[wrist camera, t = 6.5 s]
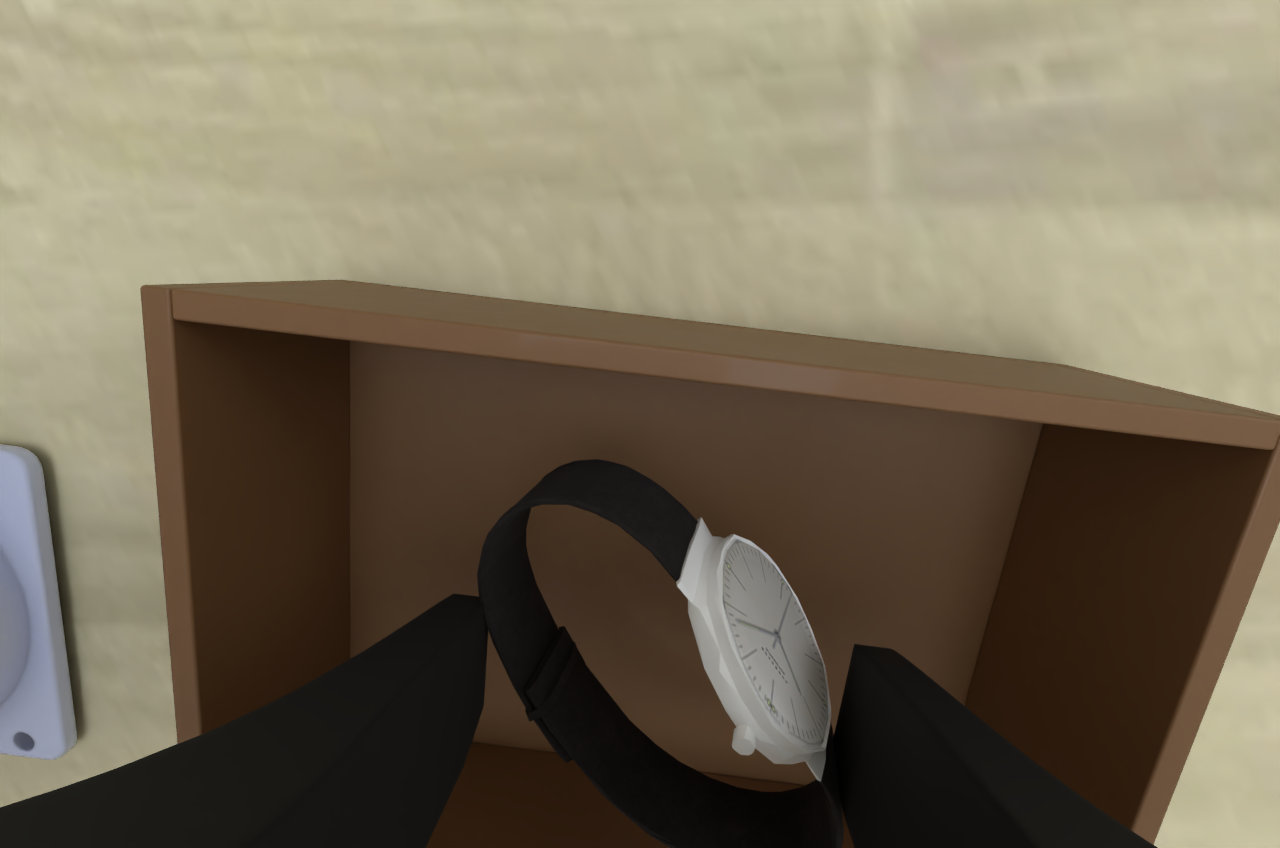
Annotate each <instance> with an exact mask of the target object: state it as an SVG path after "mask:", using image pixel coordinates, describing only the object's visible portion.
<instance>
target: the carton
mask: <svg viewBox="0 0 1280 848" xmlns="http://www.w3.org/2000/svg"><path fill="white" fill-rule="evenodd" d="M140 290H141V302H142V314H143V326H144V338H145V351H146V363H147V375H148V387H149V399H150V412H151V424H152V436H153V448H154V461H155V473H156V485H157V497H158V509H159V522H160V534H161V546H162V558H163V571H164V583H165V595H166V607H167V619H168V632H169V644H170V656H171V668H172V680H173V693H174V705H175V717H176V729H177V742H178V744H179V743H182V742H184V741H187V740H189V739H192V738H194V737H197V736H199V735H202V734H204V733H206V732H209V731H211V730H213V729H215V728H218V727H220V726H222V725H224V724H227V723H229V722H231V721H233V720H235V719H237V718H239V717H242V716H244V715H246V714H248V713H250V712H252V711H254V710H256V709H259V708H261V707H263V706H265V705H267V704H269V703H271V702H273V701H275V700H277V699H279V698H281V697H283V696H285V695H287V694H289V693H290V692H292V691H294V690H296V689H298V688H300V687H302V686H304V685H305V684H307V683H309V682H311V681H312V680H314V679H316V678H318V677H319V676H321V675H323V674H325V673H326V672H328V671H330V670H332V669H333V668H335V667H337V666H338V665H340V664H342V663H344V662H345V661H347V660H349V659H351V658H352V657H354V656H356V655H358V654H359V653H361V652H363V651H364V650H366V649H368V648H369V647H371V646H372V645H374V644H375V643H377V642H379V641H380V640H382V639H383V638H385V637H386V636H388V635H390V634H391V633H393V632H394V631H396V630H397V629H399V628H401V627H402V626H404V625H405V624H407V623H408V622H410V621H411V620H413V619H414V618H416V617H417V616H419V615H420V614H422V613H423V612H425V611H426V610H428V609H430V608H431V607H433V606H434V605H436V604H437V603H439V602H440V601H442V600H443V599H445V598H447V597H448V596H450V595H452V594H462V595H470V596H478V597H479V592H478V581H477V571H478V566H479V562H480V557H481V552H482V547H483V544H484V542H485V539H486V537H487V534H488V533H489V532H490V530H491V529H492V528H493V526H494V525H495V524H496V522H497V521H498V520H499V518H500V517H501V516H502V515H503V514H504V513H506V512H507V511H508V510H509V509H510V508H511V507H513V506H514V505H515V504H516V503H517V502H518V501H519V500H521V499H522V498H523V497H524V496H525V495H526V494H527V493H528V492H529V491H530V490H531V489H532V488H533V487H534V486H536V485H537V484H538V483H539V482H540V481H541V480H542V478H543V477H544V476H545V475H547V474H548V473H550V472H551V471H553V470H554V469H556V468H558V467H559V466H561V465H564V464H567V463H570V462H573V461H578V460H592V459H600V460H605V461H611V462H614V463H618V464H622V465H625V466H628V467H630V468H632V469H634V470H636V471H637V472H639V473H641V474H643V475H645V476H646V477H648V478H650V479H651V480H653V481H654V482H656V483H657V484H659V485H660V486H661V487H663V488H664V489H665V490H667V491H668V492H669V493H670V494H671V495H672V496H673V497H674V498H675V499H677V500H678V501H679V502H680V503H681V504H682V505H683V506H684V507H685V508H686V509H687V510H688V511H689V512H690V513H691V514H692V516H693V517H694V518H695V519H696V520H698V519H699V518H700V517H702V519H703V521H704V522H705V524H706V526H707V528H708V530H709V531H710V533H711V535H712V536H717V537H722V538H726V537H727V536H729V535H731V534H735V535H737V536H740V537H742V538H745V539H747V540H750V541H751V542H753V543H754V544H755V545H757V546H758V547H759V548H760V549H762V550H763V551H764V552H766V553H767V554H768V555H769V556H770V558H771V559H772V560H773V561H774V562H775V564H776V565H777V566H778V568H779V569H780V571H781V572H782V574H783V576H784V577H785V579H786V580H787V582H788V583H789V585H790V587H791V588H792V590H793V591H794V593H795V595H796V596H797V598H798V600H799V602H800V604H801V606H802V609H803V611H804V613H805V615H806V618H807V620H808V622H809V624H810V626H811V629H812V631H813V634H814V637H815V640H816V642H817V645H818V648H819V651H820V653H821V656H822V659H823V662H824V664H825V668H826V675H827V682H828V689H829V696H830V704H831V725H832V728H833V735H834V733H835V728H836V724H837V719H838V715H839V710H840V706H841V701H842V697H843V692H844V688H845V683H846V679H847V674H848V670H849V665H850V661H851V656H852V652H853V647H854V644H859V645H867V646H875V647H883V648H891V649H893V650H895V651H896V652H898V653H899V654H901V655H902V656H903V657H905V658H906V659H907V660H909V661H910V662H911V663H913V664H914V665H915V666H916V667H918V668H919V669H920V670H921V671H923V672H924V673H925V674H926V675H928V676H929V677H930V678H931V679H932V680H934V681H935V682H936V683H937V684H939V685H940V686H941V687H942V688H943V689H945V690H946V691H947V692H948V693H949V694H951V695H952V696H953V697H954V698H955V699H957V700H958V701H959V702H960V703H962V704H963V705H964V706H965V707H966V708H968V709H969V710H970V711H971V712H972V713H974V714H975V715H976V716H977V717H979V718H980V719H981V720H982V721H984V722H985V723H986V724H987V725H989V726H990V727H991V728H992V729H993V730H995V731H996V732H997V733H998V734H1000V735H1001V736H1002V737H1003V738H1005V739H1006V740H1007V741H1009V742H1010V743H1011V744H1012V745H1014V746H1015V747H1016V748H1017V749H1019V750H1020V751H1021V752H1023V753H1024V754H1025V755H1027V756H1028V757H1029V758H1030V759H1032V760H1033V761H1034V762H1036V763H1037V764H1038V765H1040V766H1041V767H1042V768H1044V769H1045V770H1046V771H1048V772H1049V773H1050V774H1052V775H1053V776H1054V777H1056V778H1057V779H1059V780H1060V781H1061V782H1063V783H1064V784H1065V785H1067V786H1068V787H1069V788H1071V789H1072V790H1073V791H1075V792H1076V793H1077V794H1079V795H1080V796H1082V797H1083V798H1084V799H1086V800H1087V801H1089V802H1090V803H1092V804H1093V805H1094V806H1096V807H1097V808H1099V809H1100V810H1102V811H1103V812H1104V813H1106V814H1107V815H1109V816H1110V817H1112V818H1113V819H1115V820H1116V821H1118V822H1119V823H1121V824H1122V825H1124V826H1125V827H1127V828H1128V829H1130V830H1131V831H1133V832H1134V833H1136V834H1138V835H1139V836H1141V837H1142V838H1144V839H1145V840H1147V841H1148V842H1150V843H1151V844H1154V842H1155V839H1156V836H1157V834H1158V831H1159V829H1160V826H1161V824H1162V821H1163V819H1164V816H1165V813H1166V811H1167V808H1168V806H1169V803H1170V801H1171V798H1172V795H1173V793H1174V790H1175V788H1176V785H1177V783H1178V780H1179V778H1180V775H1181V772H1182V770H1183V767H1184V765H1185V762H1186V760H1187V757H1188V755H1189V752H1190V749H1191V747H1192V744H1193V742H1194V739H1195V737H1196V734H1197V732H1198V729H1199V726H1200V724H1201V721H1202V719H1203V716H1204V714H1205V711H1206V709H1207V706H1208V703H1209V701H1210V698H1211V696H1212V693H1213V691H1214V688H1215V686H1216V683H1217V680H1218V678H1219V675H1220V673H1221V670H1222V668H1223V665H1224V663H1225V660H1226V657H1227V655H1228V652H1229V650H1230V647H1231V645H1232V642H1233V640H1234V637H1235V634H1236V632H1237V629H1238V627H1239V624H1240V622H1241V619H1242V617H1243V614H1244V611H1245V609H1246V606H1247V604H1248V601H1249V599H1250V596H1251V593H1252V591H1253V588H1254V586H1255V583H1256V581H1257V578H1258V576H1259V573H1260V570H1261V568H1262V565H1263V563H1264V560H1265V558H1266V555H1267V553H1268V550H1269V547H1270V545H1271V542H1272V540H1273V537H1274V535H1275V532H1276V530H1277V527H1278V524H1279V522H1280V416H1279V415H1275V414H1271V413H1267V412H1263V411H1258V410H1254V409H1250V408H1246V407H1241V406H1237V405H1233V404H1229V403H1224V402H1220V401H1216V400H1212V399H1208V398H1203V397H1199V396H1195V395H1191V394H1186V393H1182V392H1178V391H1174V390H1169V389H1165V388H1161V387H1157V386H1153V385H1148V384H1144V383H1140V382H1136V381H1131V380H1127V379H1123V378H1119V377H1114V376H1110V375H1106V374H1102V373H1098V372H1093V371H1089V370H1085V369H1081V368H1076V367H1072V366H1068V365H1062V364H1053V363H1045V362H1036V361H1028V360H1019V359H1011V358H1002V357H994V356H985V355H977V354H968V353H960V352H951V351H943V350H934V349H926V348H917V347H909V346H900V345H892V344H883V343H875V342H866V341H858V340H849V339H841V338H832V337H824V336H815V335H807V334H798V333H790V332H781V331H772V330H764V329H755V328H747V327H738V326H730V325H721V324H713V323H704V322H696V321H687V320H679V319H670V318H662V317H653V316H645V315H636V314H628V313H619V312H611V311H602V310H594V309H585V308H577V307H568V306H560V305H551V304H543V303H534V302H526V301H517V300H509V299H500V298H492V297H483V296H475V295H466V294H458V293H449V292H441V291H432V290H424V289H415V288H407V287H398V286H390V285H381V284H373V283H364V282H356V281H347V280H319V281H281V282H244V283H206V284H169V285H144V286H141V289H140ZM526 546H527V552H528V557H529V561H530V564H531V567H532V571H533V574H534V577H535V580H536V584H537V586H538V588H539V590H540V592H541V594H542V596H543V598H544V600H545V602H546V604H547V606H548V608H549V611H550V613H551V615H552V617H553V619H554V621H555V623H556V625H557V627H558V629H559V627H562V626H565V628H566V629H567V631H568V633H569V635H570V636H571V638H572V640H573V642H575V643H576V646H577V648H578V650H579V652H580V654H581V656H582V657H583V659H584V661H585V664H586V666H587V667H588V668H589V669H590V671H591V672H592V673H593V674H594V676H595V677H596V678H597V679H598V681H599V682H600V683H601V684H602V686H603V687H604V688H605V690H606V691H607V692H608V693H609V695H610V696H611V697H612V698H613V700H614V701H615V702H616V703H617V705H618V706H619V707H620V708H621V710H622V711H623V712H624V713H625V715H626V716H627V717H628V719H629V720H630V721H631V722H632V723H633V724H634V725H636V726H637V727H638V728H639V729H640V730H641V731H642V732H643V733H644V734H645V735H646V736H648V737H649V738H650V739H651V740H652V741H653V742H654V743H655V744H656V745H658V746H659V747H660V748H662V749H663V750H665V751H666V752H667V753H669V754H670V755H671V756H673V757H674V758H676V759H677V760H678V761H680V762H681V763H683V764H685V765H687V766H689V767H691V768H693V769H695V770H697V771H699V772H701V773H702V774H704V775H706V776H708V777H710V778H713V779H716V780H719V781H722V782H724V783H727V784H730V785H733V786H736V787H739V788H745V789H750V790H756V791H761V792H782V791H787V790H791V789H795V788H800V787H804V786H806V785H807V784H809V783H811V782H813V781H814V780H816V778H815V776H814V775H813V773H812V771H811V770H810V768H809V767H808V765H807V764H806V762H805V761H804V762H800V763H796V764H774V763H773V762H772V761H770V760H769V759H768V758H767V757H766V756H764V755H763V754H762V753H761V752H759V751H758V750H757V749H756V748H755V750H754V752H753V753H752V754H751V755H740V754H739V753H738V752H736V751H735V750H734V749H733V748H732V741H733V733H734V729H735V728H736V726H735V724H734V723H733V721H732V720H731V718H730V717H729V715H728V714H727V712H726V711H725V709H724V707H723V705H722V703H721V701H720V699H719V697H718V695H717V693H716V691H715V689H714V687H713V685H712V683H711V681H710V679H709V677H708V675H707V673H706V671H705V669H704V666H703V662H702V659H701V655H700V652H699V648H698V645H697V642H696V638H695V635H694V631H693V628H692V624H691V621H690V617H689V614H688V598H687V597H686V596H685V595H684V594H683V593H682V591H681V590H680V589H679V588H678V587H677V584H676V582H675V581H674V579H673V578H672V577H671V576H670V575H669V573H668V572H667V571H666V570H665V569H664V567H663V566H662V565H661V564H660V563H659V561H658V560H657V559H656V558H655V557H654V555H653V554H652V553H651V552H650V551H649V550H648V549H647V548H645V547H644V546H643V545H642V544H640V543H639V542H638V541H637V540H635V539H634V538H633V537H632V536H630V535H629V534H628V533H627V532H625V531H624V530H623V529H622V528H621V527H619V526H618V525H616V524H614V523H612V522H610V521H608V520H606V519H604V518H602V517H600V516H598V515H596V514H595V513H592V512H589V511H586V510H583V509H580V508H577V507H574V506H571V505H539V506H535V507H532V508H531V511H530V515H529V519H528V523H527V527H526ZM525 709H526V708H525V706H524V704H523V703H522V701H521V699H520V697H519V696H518V694H517V692H516V691H515V689H514V687H513V685H512V683H511V681H510V679H509V677H508V674H507V672H506V670H505V668H504V666H503V664H502V662H501V660H500V657H499V655H498V653H497V651H496V649H495V647H494V645H493V642H492V639H491V636H490V633H489V630H488V645H487V662H486V679H485V696H484V707H483V710H482V713H481V716H480V719H479V722H478V725H477V728H476V731H475V735H474V738H473V741H472V743H471V746H470V749H469V752H468V755H467V758H466V761H465V764H464V766H463V769H462V771H461V773H460V775H459V777H458V780H457V782H456V784H455V786H454V788H453V790H452V793H451V795H450V797H449V799H448V801H447V803H446V806H445V808H444V810H443V812H442V814H441V816H440V818H439V821H438V823H437V825H436V827H435V829H434V831H433V833H432V835H431V838H430V840H429V842H428V844H427V846H426V848H670V847H668V846H666V845H665V844H663V843H661V842H660V841H658V840H656V839H655V838H653V837H651V836H650V835H649V834H647V833H646V832H645V831H644V830H642V829H641V828H640V827H639V826H638V825H636V824H635V823H634V822H633V821H631V820H630V819H629V818H628V817H627V816H625V815H624V814H623V813H622V812H621V811H619V810H618V809H617V808H616V807H615V806H614V805H613V804H612V803H611V802H610V801H608V800H607V799H606V798H605V797H604V796H603V795H602V794H601V793H600V792H599V791H598V789H597V788H596V787H595V786H594V785H593V783H592V782H591V781H590V780H589V778H588V777H587V776H586V775H585V773H584V772H583V771H582V770H581V769H580V767H579V766H578V765H577V764H576V762H575V761H574V760H572V761H570V762H568V763H566V762H565V761H564V760H563V759H562V758H561V757H560V756H559V755H558V754H557V753H556V752H555V750H554V749H553V748H552V746H551V745H550V744H549V742H548V741H547V739H546V738H545V736H544V735H543V733H542V732H541V730H540V729H539V728H538V726H537V725H536V723H535V722H534V720H533V721H530V722H529V720H528V717H527V715H526V712H525ZM842 815H843V828H844V838H843V844H842V848H854V845H853V842H852V839H851V836H850V833H849V829H848V826H847V823H846V820H845V817H844V813H843V809H842Z"/></svg>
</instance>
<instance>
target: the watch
mask: <svg viewBox="0 0 1280 848" xmlns="http://www.w3.org/2000/svg"><path fill="white" fill-rule="evenodd" d="M539 505H571V506H574V507H577V508H580V509H583V510H586V511H589V512H592V513H595V514H596V515H598V516H600V517H602V518H604V519H606V520H608V521H610V522H612V523H614V524H616V525H618V526H619V527H621V528H622V529H623V530H624V531H625V532H627V533H628V534H629V535H630V536H632V537H633V538H634V539H635V540H637V541H638V542H639V543H640V544H642V545H643V546H644V547H645V548H647V549H648V550H649V551H650V552H651V553H652V554H653V555H654V557H655V558H656V559H657V560H658V561H659V563H660V564H661V565H662V566H663V567H664V569H665V570H666V571H667V572H668V573H669V575H670V576H671V577H672V578H673V579H674V581H675V582H676V584H677V587H678V588H679V589H680V590H681V591H682V593H683V594H684V595H685V596H686V597H687V598H688V614H689V617H690V621H691V624H692V628H693V631H694V635H695V638H696V642H697V645H698V648H699V652H700V655H701V659H702V662H703V666H704V669H705V671H706V673H707V675H708V677H709V679H710V681H711V683H712V685H713V687H714V689H715V691H716V693H717V695H718V697H719V699H720V701H721V703H722V705H723V707H724V709H725V711H726V712H727V714H728V715H729V717H730V718H731V720H732V721H733V723H734V724H735V726H736V728H735V729H734V733H733V741H732V748H733V749H734V750H735V751H736V752H738V753H739V754H740V755H751V754H752V753H753V752H754V750H755V748H756V749H757V750H758V751H759V752H761V753H762V754H763V755H764V756H766V757H767V758H768V759H769V760H770V761H772V762H773V763H774V764H796V763H800V762H804V761H805V762H806V764H807V765H808V767H809V768H810V770H811V771H812V773H813V775H814V776H815V778H816V780H814V781H813V782H811V783H809V784H807V785H806V786H804V787H800V788H795V789H791V790H787V791H782V792H761V791H756V790H750V789H745V788H739V787H736V786H733V785H730V784H727V783H724V782H722V781H719V780H716V779H713V778H710V777H708V776H706V775H704V774H702V773H701V772H699V771H697V770H695V769H693V768H691V767H689V766H687V765H685V764H683V763H681V762H680V761H678V760H677V759H676V758H674V757H673V756H671V755H670V754H669V753H667V752H666V751H665V750H663V749H662V748H660V747H659V746H658V745H656V744H655V743H654V742H653V741H652V740H651V739H650V738H649V737H648V736H646V735H645V734H644V733H643V732H642V731H641V730H640V729H639V728H638V727H637V726H636V725H634V724H633V723H632V722H631V721H630V720H629V719H628V717H627V716H626V715H625V713H624V712H623V711H622V710H621V708H620V707H619V706H618V705H617V703H616V702H615V701H614V700H613V698H612V697H611V696H610V695H609V693H608V692H607V691H606V690H605V688H604V687H603V686H602V684H601V683H600V682H599V681H598V679H597V678H596V677H595V676H594V674H593V673H592V672H591V671H590V669H589V668H588V667H587V666H586V664H585V661H584V659H583V657H582V656H581V654H580V652H579V650H578V648H577V646H576V643H575V642H573V640H572V638H571V636H570V635H569V633H568V631H567V629H566V628H565V626H562V627H559V629H558V627H557V625H556V623H555V621H554V619H553V617H552V615H551V613H550V611H549V608H548V606H547V604H546V602H545V600H544V598H543V596H542V594H541V592H540V590H539V588H538V586H537V584H536V580H535V577H534V574H533V571H532V567H531V564H530V561H529V557H528V552H527V546H526V527H527V523H528V519H529V515H530V511H531V508H532V507H535V506H539ZM477 581H478V592H479V601H480V603H485V606H484V618H485V621H486V624H487V627H488V630H489V633H490V636H491V639H492V642H493V645H494V647H495V649H496V651H497V653H498V655H499V657H500V660H501V662H502V664H503V666H504V668H505V670H506V672H507V674H508V677H509V679H510V681H511V683H512V685H513V687H514V689H515V691H516V692H517V694H518V696H519V697H520V699H521V701H522V703H523V704H524V706H525V708H526V709H525V712H526V715H527V717H528V720H529V722H530V721H533V720H534V722H535V723H536V725H537V726H538V728H539V729H540V730H541V732H542V733H543V735H544V736H545V738H546V739H547V741H548V742H549V744H550V745H551V746H552V748H553V749H554V750H555V752H556V753H557V754H558V755H559V756H560V757H561V758H562V759H563V760H564V761H565V762H566V763H568V762H570V761H572V760H574V761H575V762H576V764H577V765H578V766H579V767H580V769H581V770H582V771H583V772H584V773H585V775H586V776H587V777H588V778H589V780H590V781H591V782H592V783H593V785H594V786H595V787H596V788H597V789H598V791H599V792H600V793H601V794H602V795H603V796H604V797H605V798H606V799H607V800H608V801H610V802H611V803H612V804H613V805H614V806H615V807H616V808H617V809H618V810H619V811H621V812H622V813H623V814H624V815H625V816H627V817H628V818H629V819H630V820H631V821H633V822H634V823H635V824H636V825H638V826H639V827H640V828H641V829H642V830H644V831H645V832H646V833H647V834H649V835H650V836H651V837H653V838H655V839H656V840H658V841H660V842H661V843H663V844H665V845H666V846H668V847H670V848H842V844H843V838H844V828H843V815H842V804H841V798H840V790H839V781H838V773H837V766H836V758H835V752H834V746H833V737H834V735H833V728H832V725H831V704H830V696H829V689H828V682H827V675H826V668H825V664H824V662H823V659H822V656H821V653H820V651H819V648H818V645H817V642H816V640H815V637H814V634H813V631H812V629H811V626H810V624H809V622H808V620H807V618H806V615H805V613H804V611H803V609H802V606H801V604H800V602H799V600H798V598H797V596H796V595H795V593H794V591H793V590H792V588H791V587H790V585H789V583H788V582H787V580H786V579H785V577H784V576H783V574H782V572H781V571H780V569H779V568H778V566H777V565H776V564H775V562H774V561H773V560H772V559H771V558H770V556H769V555H768V554H767V553H766V552H764V551H763V550H762V549H760V548H759V547H758V546H757V545H755V544H754V543H753V542H751V541H750V540H747V539H745V538H742V537H740V536H737V535H735V534H731V535H729V536H727V537H726V538H722V537H717V536H712V535H711V533H710V531H709V530H708V528H707V526H706V524H705V522H704V521H703V519H702V517H700V518H699V519H698V520H696V519H695V518H694V517H693V516H692V514H691V513H690V512H689V511H688V510H687V509H686V508H685V507H684V506H683V505H682V504H681V503H680V502H679V501H678V500H677V499H675V498H674V497H673V496H672V495H671V494H670V493H669V492H668V491H667V490H665V489H664V488H663V487H661V486H660V485H659V484H657V483H656V482H654V481H653V480H651V479H650V478H648V477H646V476H645V475H643V474H641V473H639V472H637V471H636V470H634V469H632V468H630V467H628V466H625V465H622V464H618V463H614V462H611V461H605V460H600V459H592V460H578V461H573V462H570V463H567V464H564V465H561V466H559V467H558V468H556V469H554V470H553V471H551V472H550V473H548V474H547V475H545V476H544V477H543V478H542V480H541V481H540V482H539V483H538V484H537V485H536V486H534V487H533V488H532V489H531V490H530V491H529V492H528V493H527V494H526V495H525V496H524V497H523V498H522V499H521V500H519V501H518V502H517V503H516V504H515V505H514V506H513V507H511V508H510V509H509V510H508V511H507V512H506V513H504V514H503V515H502V516H501V517H500V518H499V520H498V521H497V522H496V524H495V525H494V526H493V528H492V529H491V530H490V532H489V533H488V534H487V537H486V539H485V542H484V544H483V547H482V552H481V557H480V562H479V566H478V571H477Z"/></svg>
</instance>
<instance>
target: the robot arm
mask: <svg viewBox="0 0 1280 848" xmlns="http://www.w3.org/2000/svg"><path fill="white" fill-rule="evenodd" d="M484 606H485V603H480V601H479V597H478V596H470V595H462V594H452V595H450V596H448V597H447V598H445V599H443V600H442V601H440V602H439V603H437V604H436V605H434V606H433V607H431V608H430V609H428V610H426V611H425V612H423V613H422V614H420V615H419V616H417V617H416V618H414V619H413V620H411V621H410V622H408V623H407V624H405V625H404V626H402V627H401V628H399V629H397V630H396V631H394V632H393V633H391V634H390V635H388V636H386V637H385V638H383V639H382V640H380V641H379V642H377V643H375V644H374V645H372V646H371V647H369V648H368V649H366V650H364V651H363V652H361V653H359V654H358V655H356V656H354V657H352V658H351V659H349V660H347V661H345V662H344V663H342V664H340V665H338V666H337V667H335V668H333V669H332V670H330V671H328V672H326V673H325V674H323V675H321V676H319V677H318V678H316V679H314V680H312V681H311V682H309V683H307V684H305V685H304V686H302V687H300V688H298V689H296V690H294V691H292V692H290V693H289V694H287V695H285V696H283V697H281V698H279V699H277V700H275V701H273V702H271V703H269V704H267V705H265V706H263V707H261V708H259V709H256V710H254V711H252V712H250V713H248V714H246V715H244V716H242V717H239V718H237V719H235V720H233V721H231V722H229V723H227V724H224V725H222V726H220V727H218V728H215V729H213V730H211V731H209V732H206V733H204V734H202V735H199V736H197V737H194V738H192V739H189V740H187V741H184V742H182V743H179V744H177V745H174V746H172V747H169V748H167V749H164V750H162V751H159V752H157V753H154V754H152V755H149V756H147V757H144V758H142V759H139V760H137V761H134V762H132V763H129V764H127V765H124V766H122V767H119V768H116V769H114V770H111V771H108V772H105V773H103V774H100V775H97V776H94V777H91V778H88V779H85V780H82V781H80V782H77V783H74V784H71V785H68V786H65V787H62V788H59V789H57V790H54V791H50V792H47V793H44V794H41V795H38V796H35V797H32V798H29V799H26V800H22V801H19V802H16V803H13V804H10V805H7V806H4V807H1V808H0V848H426V846H427V844H428V842H429V840H430V838H431V835H432V833H433V831H434V829H435V827H436V825H437V823H438V821H439V818H440V816H441V814H442V812H443V810H444V808H445V806H446V803H447V801H448V799H449V797H450V795H451V793H452V790H453V788H454V786H455V784H456V782H457V780H458V777H459V775H460V773H461V771H462V769H463V766H464V764H465V761H466V758H467V755H468V752H469V749H470V746H471V743H472V741H473V738H474V735H475V731H476V728H477V725H478V722H479V719H480V716H481V713H482V710H483V707H484V696H485V679H486V662H487V645H488V627H487V624H486V621H485V618H484ZM76 742H77V731H76V723H75V715H74V707H73V700H72V692H71V684H70V676H69V668H68V661H67V653H66V645H65V637H64V629H63V622H62V614H61V606H60V598H59V590H58V583H57V575H56V567H55V559H54V551H53V544H52V536H51V528H50V520H49V512H48V505H47V497H46V489H45V481H44V473H43V468H42V465H41V462H40V461H39V459H38V458H37V457H36V455H34V454H33V453H32V452H30V451H29V450H27V449H25V448H22V447H18V446H11V445H3V444H0V753H1V754H8V755H16V756H24V757H31V758H39V759H47V760H51V759H57V758H59V757H62V756H63V755H64V754H65V753H67V752H68V751H69V750H70V749H72V748H73V747H74V745H75V744H76ZM833 746H834V752H835V758H836V766H837V773H838V781H839V790H840V798H841V804H842V809H843V813H844V817H845V820H846V823H847V826H848V829H849V833H850V836H851V839H852V842H853V845H854V848H1157V847H1156V846H1154V845H1153V844H1151V843H1150V842H1148V841H1147V840H1145V839H1144V838H1142V837H1141V836H1139V835H1138V834H1136V833H1134V832H1133V831H1131V830H1130V829H1128V828H1127V827H1125V826H1124V825H1122V824H1121V823H1119V822H1118V821H1116V820H1115V819H1113V818H1112V817H1110V816H1109V815H1107V814H1106V813H1104V812H1103V811H1102V810H1100V809H1099V808H1097V807H1096V806H1094V805H1093V804H1092V803H1090V802H1089V801H1087V800H1086V799H1084V798H1083V797H1082V796H1080V795H1079V794H1077V793H1076V792H1075V791H1073V790H1072V789H1071V788H1069V787H1068V786H1067V785H1065V784H1064V783H1063V782H1061V781H1060V780H1059V779H1057V778H1056V777H1054V776H1053V775H1052V774H1050V773H1049V772H1048V771H1046V770H1045V769H1044V768H1042V767H1041V766H1040V765H1038V764H1037V763H1036V762H1034V761H1033V760H1032V759H1030V758H1029V757H1028V756H1027V755H1025V754H1024V753H1023V752H1021V751H1020V750H1019V749H1017V748H1016V747H1015V746H1014V745H1012V744H1011V743H1010V742H1009V741H1007V740H1006V739H1005V738H1003V737H1002V736H1001V735H1000V734H998V733H997V732H996V731H995V730H993V729H992V728H991V727H990V726H989V725H987V724H986V723H985V722H984V721H982V720H981V719H980V718H979V717H977V716H976V715H975V714H974V713H972V712H971V711H970V710H969V709H968V708H966V707H965V706H964V705H963V704H962V703H960V702H959V701H958V700H957V699H955V698H954V697H953V696H952V695H951V694H949V693H948V692H947V691H946V690H945V689H943V688H942V687H941V686H940V685H939V684H937V683H936V682H935V681H934V680H932V679H931V678H930V677H929V676H928V675H926V674H925V673H924V672H923V671H921V670H920V669H919V668H918V667H916V666H915V665H914V664H913V663H911V662H910V661H909V660H907V659H906V658H905V657H903V656H902V655H901V654H899V653H898V652H896V651H895V650H893V649H891V648H883V647H875V646H867V645H859V644H854V647H853V652H852V656H851V661H850V665H849V670H848V674H847V679H846V683H845V688H844V692H843V697H842V701H841V706H840V710H839V715H838V719H837V724H836V728H835V733H834V737H833Z"/></svg>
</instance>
